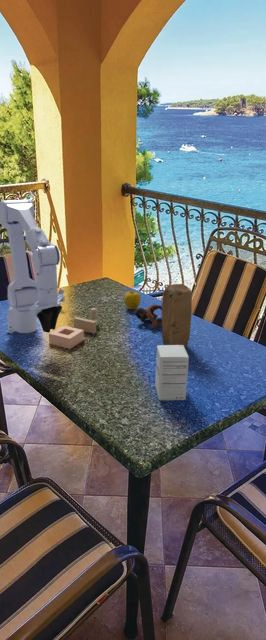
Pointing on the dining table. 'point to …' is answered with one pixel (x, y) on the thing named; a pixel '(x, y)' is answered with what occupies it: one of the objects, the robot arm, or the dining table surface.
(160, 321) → the dark brown irregular piece
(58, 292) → the lighter
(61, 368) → the dining table surface
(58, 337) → the sliding block
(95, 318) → the dowel
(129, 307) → the apple
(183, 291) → the block
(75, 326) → the base board
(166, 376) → the supplement box
